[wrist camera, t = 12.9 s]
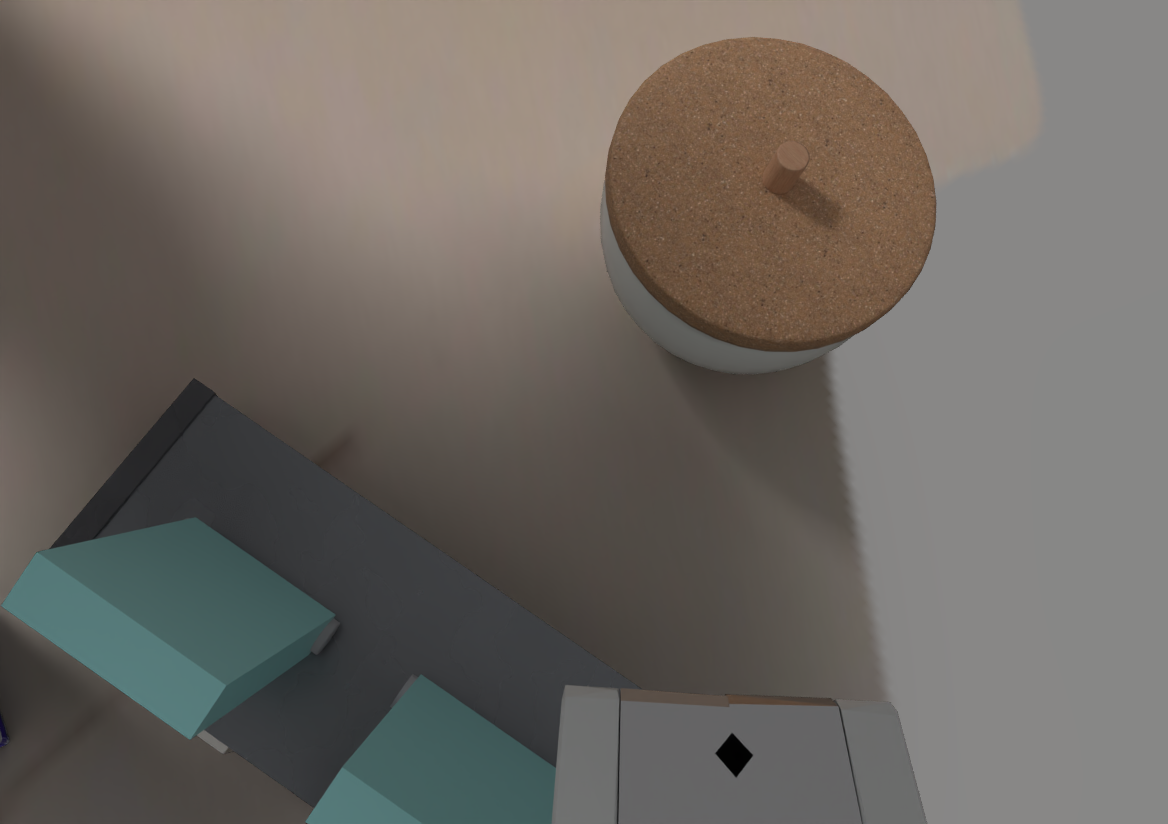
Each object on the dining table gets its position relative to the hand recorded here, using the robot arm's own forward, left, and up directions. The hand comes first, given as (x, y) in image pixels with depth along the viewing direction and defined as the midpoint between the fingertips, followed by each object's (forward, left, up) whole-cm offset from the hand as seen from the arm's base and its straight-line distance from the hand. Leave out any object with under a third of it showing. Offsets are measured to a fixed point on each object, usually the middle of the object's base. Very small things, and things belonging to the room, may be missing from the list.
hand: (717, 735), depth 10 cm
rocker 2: (-1, -2, -21) cm, 21 cm away
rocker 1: (-9, -2, -21) cm, 23 cm away
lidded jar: (-3, +17, -26) cm, 32 cm away
